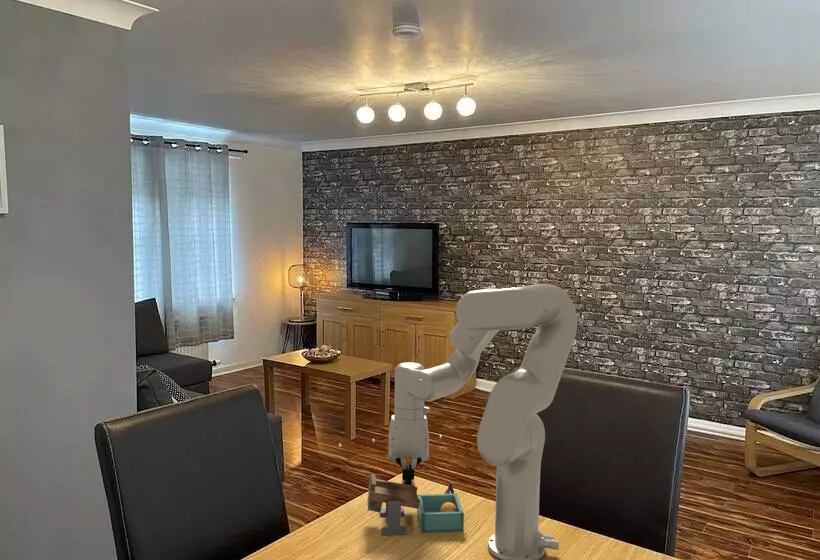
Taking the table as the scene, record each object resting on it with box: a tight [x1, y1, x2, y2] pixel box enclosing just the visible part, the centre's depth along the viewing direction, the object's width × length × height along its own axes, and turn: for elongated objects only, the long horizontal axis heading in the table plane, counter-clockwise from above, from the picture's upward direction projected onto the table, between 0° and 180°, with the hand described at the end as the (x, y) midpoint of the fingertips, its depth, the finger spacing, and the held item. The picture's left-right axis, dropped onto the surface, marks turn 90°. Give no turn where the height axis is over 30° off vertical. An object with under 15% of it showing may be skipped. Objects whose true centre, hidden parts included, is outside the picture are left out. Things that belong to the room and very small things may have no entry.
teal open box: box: [416, 493, 465, 534], centre depth 152 cm, size 10×11×4 cm
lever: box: [367, 473, 420, 513], centre depth 154 cm, size 12×14×6 cm
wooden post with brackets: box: [443, 481, 455, 494], centre depth 163 cm, size 2×8×4 cm, turn 151°
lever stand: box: [379, 501, 408, 537], centre depth 151 cm, size 6×12×8 cm, turn 5°
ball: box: [441, 502, 457, 512], centre depth 152 cm, size 4×4×4 cm
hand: (408, 482), depth 159 cm, fingers closed
